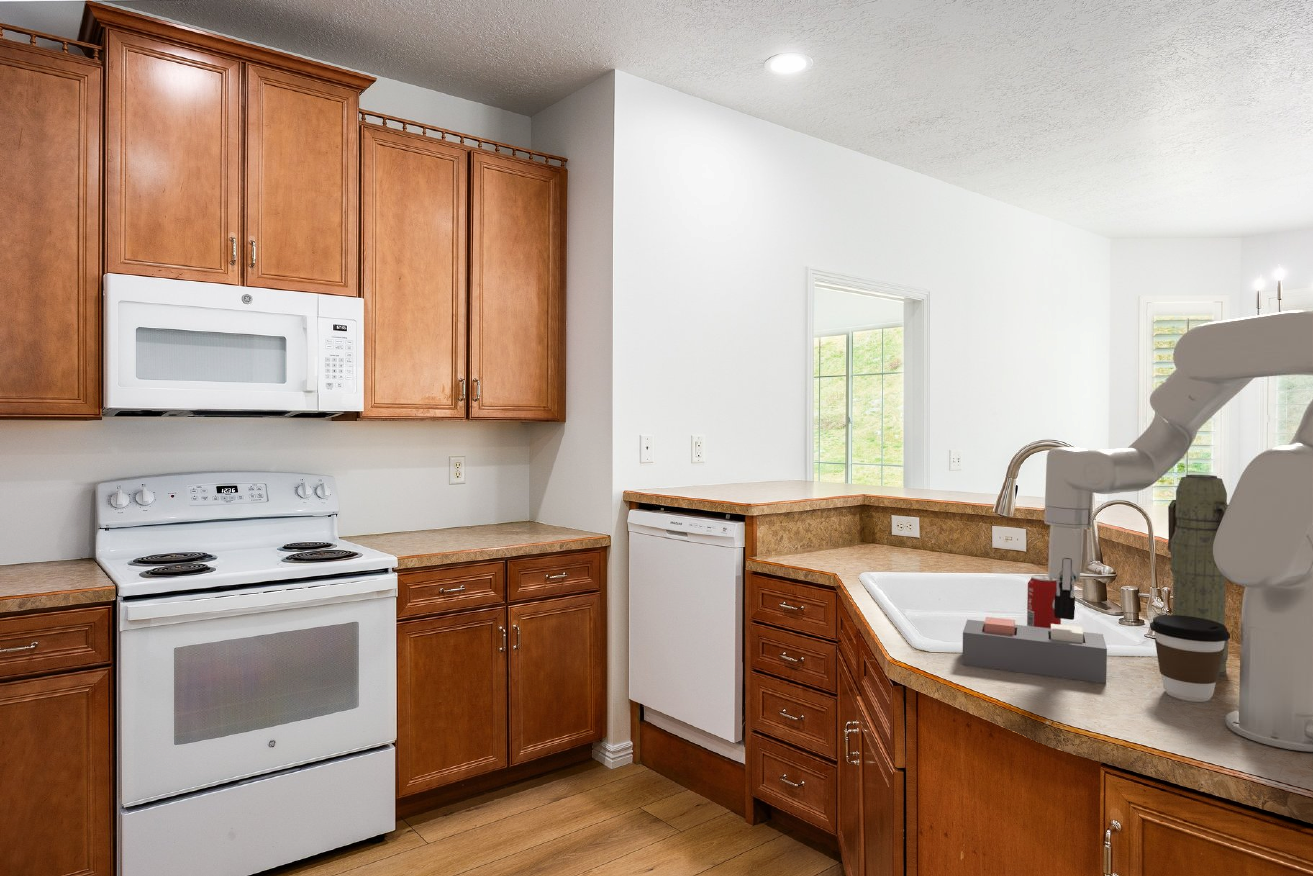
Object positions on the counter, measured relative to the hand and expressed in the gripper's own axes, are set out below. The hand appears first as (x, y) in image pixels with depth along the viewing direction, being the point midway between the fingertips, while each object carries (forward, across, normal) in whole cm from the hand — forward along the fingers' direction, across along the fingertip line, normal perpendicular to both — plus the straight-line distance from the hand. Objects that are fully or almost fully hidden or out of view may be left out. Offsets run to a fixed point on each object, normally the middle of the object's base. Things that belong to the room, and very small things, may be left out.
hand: (1063, 617), depth 142 cm
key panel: (+10, 0, -5) cm, 11 cm away
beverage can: (+10, -24, -3) cm, 26 cm away
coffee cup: (+9, +6, +18) cm, 21 cm away
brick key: (+5, 0, -10) cm, 12 cm away
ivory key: (+5, 0, +1) cm, 5 cm away
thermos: (+9, -11, +22) cm, 26 cm away
